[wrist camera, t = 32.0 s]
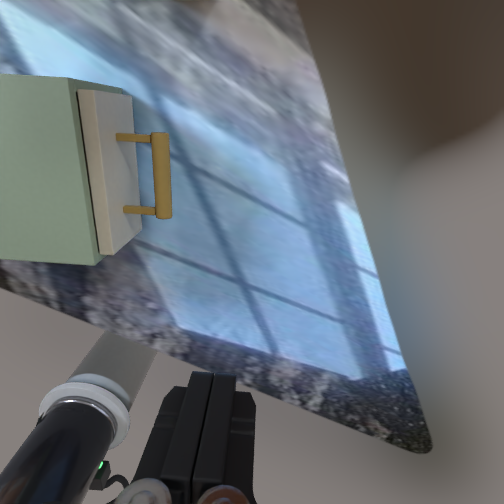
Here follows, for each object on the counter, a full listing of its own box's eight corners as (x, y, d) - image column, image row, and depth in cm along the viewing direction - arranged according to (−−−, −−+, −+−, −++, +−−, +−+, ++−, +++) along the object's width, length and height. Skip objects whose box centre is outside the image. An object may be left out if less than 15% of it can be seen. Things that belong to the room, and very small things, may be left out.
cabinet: (122, 88, 29) (67, 77, 21) (134, 231, 34) (95, 265, 26) (-48, 78, 29) (-165, 64, 22) (-10, 221, 35) (-92, 252, 27)
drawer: (179, 98, 28) (154, 93, 22) (183, 232, 33) (163, 259, 27) (-30, 86, 29) (-113, 77, 23) (3, 220, 34) (-57, 244, 27)
